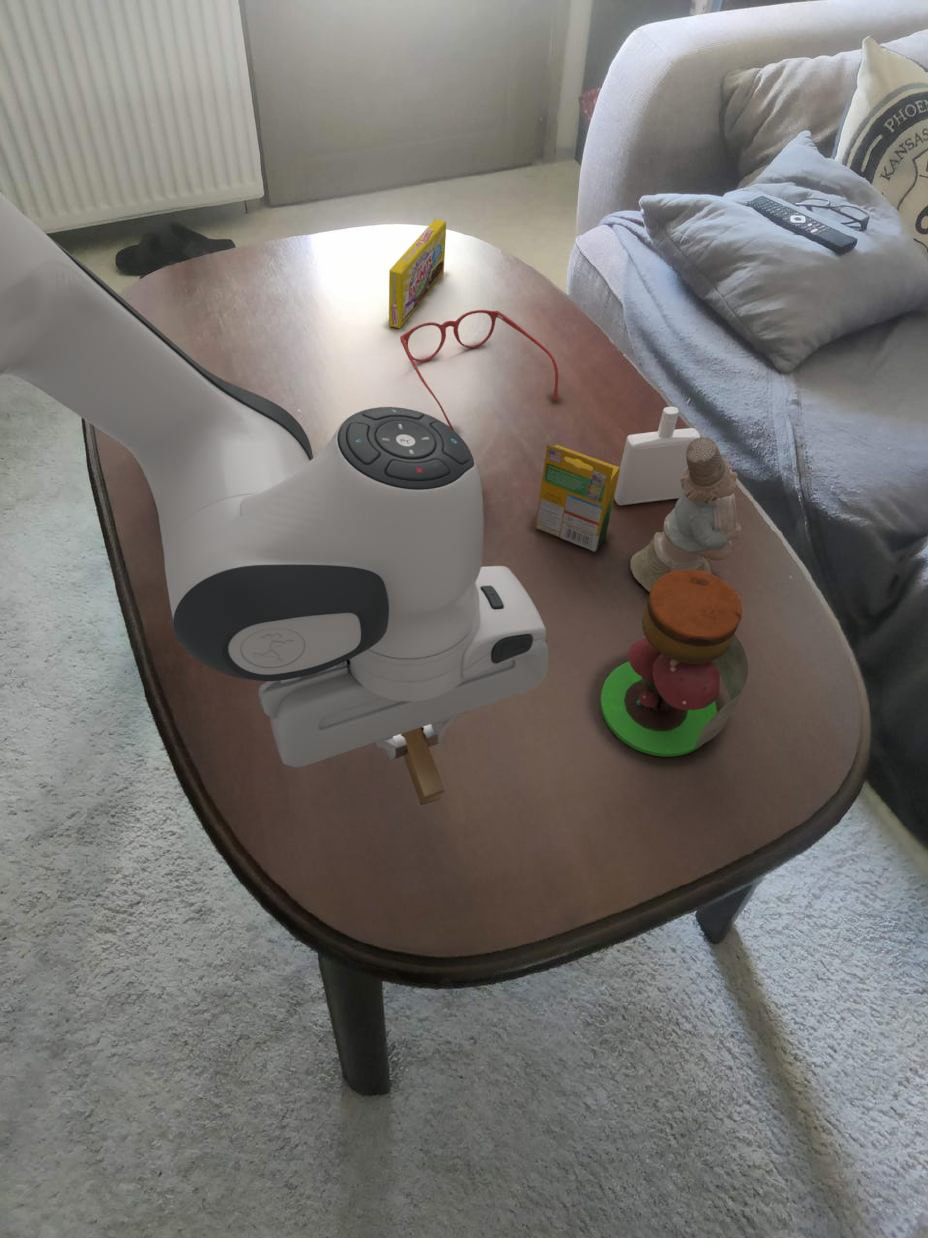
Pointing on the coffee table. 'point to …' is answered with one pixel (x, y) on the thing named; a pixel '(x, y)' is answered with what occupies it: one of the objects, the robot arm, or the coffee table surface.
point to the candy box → (416, 273)
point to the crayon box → (576, 497)
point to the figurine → (694, 519)
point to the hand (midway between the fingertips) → (413, 744)
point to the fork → (422, 767)
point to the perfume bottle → (654, 462)
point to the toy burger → (678, 667)
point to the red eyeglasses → (455, 324)
